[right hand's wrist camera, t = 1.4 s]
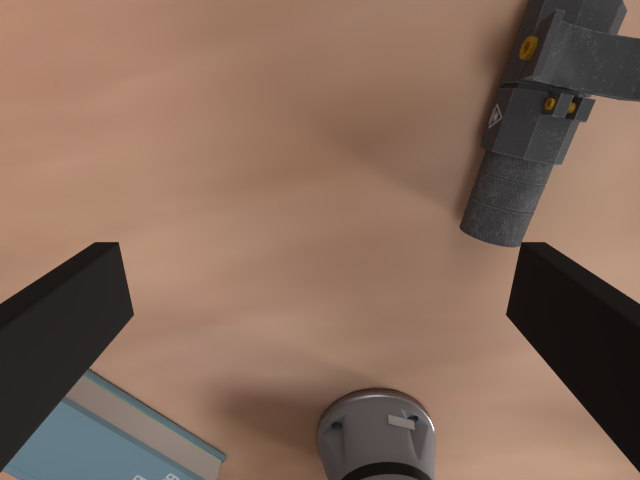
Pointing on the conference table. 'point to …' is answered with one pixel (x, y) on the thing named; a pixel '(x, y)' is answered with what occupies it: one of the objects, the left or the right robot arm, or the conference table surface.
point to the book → (111, 441)
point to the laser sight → (546, 107)
